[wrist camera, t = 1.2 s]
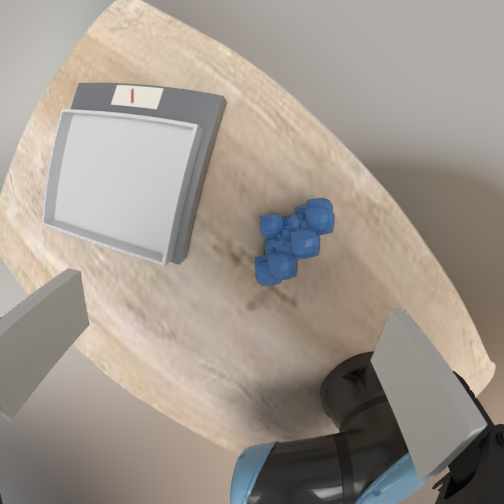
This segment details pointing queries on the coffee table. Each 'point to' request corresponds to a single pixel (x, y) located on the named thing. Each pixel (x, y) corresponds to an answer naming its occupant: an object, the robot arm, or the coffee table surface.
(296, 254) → the grapes
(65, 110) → the scale
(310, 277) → the coffee table surface
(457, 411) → the robot arm
